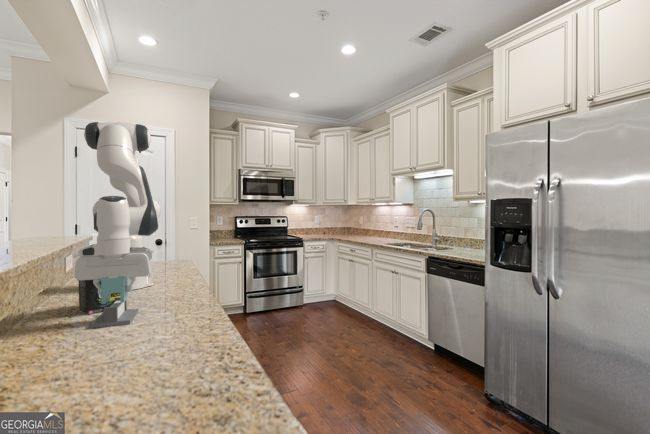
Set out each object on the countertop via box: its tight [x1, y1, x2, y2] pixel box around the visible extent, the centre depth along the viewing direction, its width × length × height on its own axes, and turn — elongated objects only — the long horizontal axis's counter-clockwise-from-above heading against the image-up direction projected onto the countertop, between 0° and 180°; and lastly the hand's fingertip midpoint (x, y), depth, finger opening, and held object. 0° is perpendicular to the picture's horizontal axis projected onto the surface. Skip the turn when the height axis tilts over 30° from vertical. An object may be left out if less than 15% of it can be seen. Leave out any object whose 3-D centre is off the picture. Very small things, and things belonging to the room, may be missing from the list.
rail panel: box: [90, 297, 139, 329], centre depth 103 cm, size 12×10×6 cm
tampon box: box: [78, 280, 120, 315], centre depth 115 cm, size 11×9×15 cm
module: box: [101, 276, 130, 304], centre depth 103 cm, size 6×6×8 cm
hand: (115, 292), depth 103 cm, fingers closed on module, 6 cm apart
